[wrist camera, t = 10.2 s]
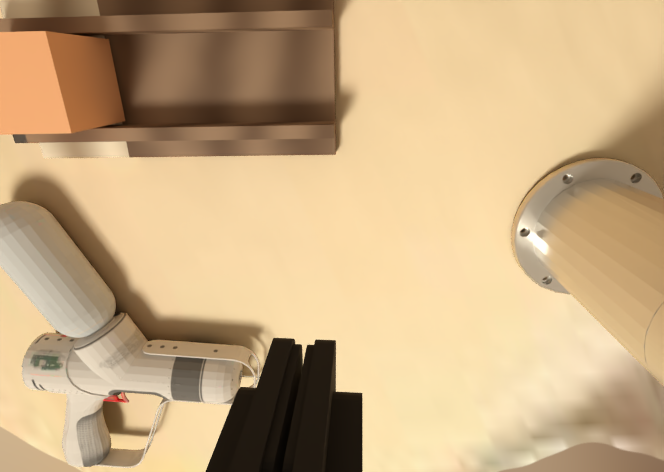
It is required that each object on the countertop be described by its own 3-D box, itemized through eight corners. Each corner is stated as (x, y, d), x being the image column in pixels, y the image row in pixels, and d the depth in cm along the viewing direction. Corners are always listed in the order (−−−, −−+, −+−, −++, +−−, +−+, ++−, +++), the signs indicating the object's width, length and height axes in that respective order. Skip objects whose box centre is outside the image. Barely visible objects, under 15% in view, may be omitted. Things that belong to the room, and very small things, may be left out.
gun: (64, 432, 49) (7, 191, 38) (303, 449, 49) (317, 214, 38) (30, 476, 43) (-48, 210, 32) (298, 495, 44) (313, 237, 32)
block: (108, 39, 31) (45, 30, 24) (125, 121, 33) (71, 133, 27) (32, 41, 31) (-52, 33, 25) (53, 122, 33) (-18, 134, 27)
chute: (333, -10, 30) (331, -20, 27) (335, 152, 35) (334, 160, 31) (7, -1, 31) (-32, -9, 28) (51, 156, 36) (22, 164, 32)
